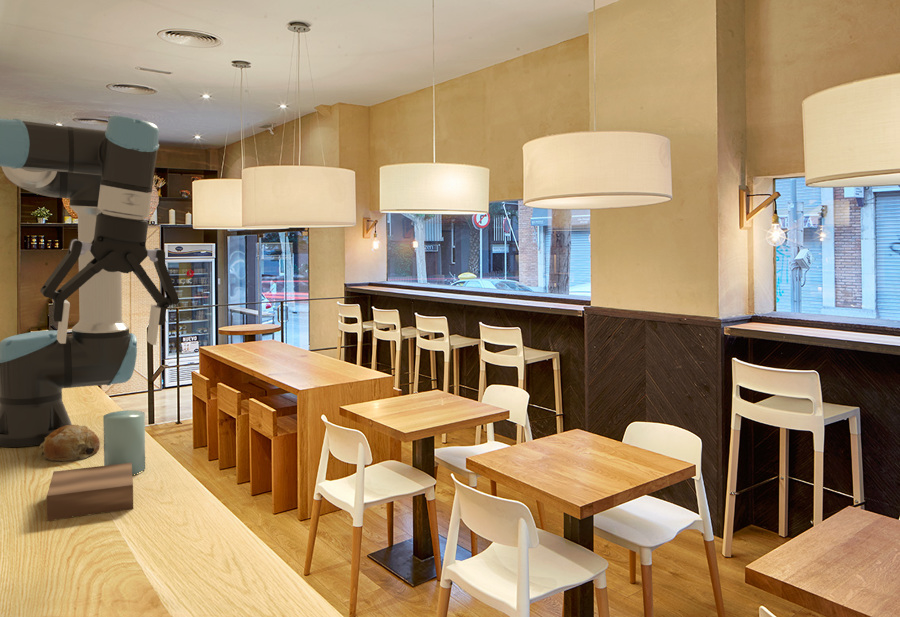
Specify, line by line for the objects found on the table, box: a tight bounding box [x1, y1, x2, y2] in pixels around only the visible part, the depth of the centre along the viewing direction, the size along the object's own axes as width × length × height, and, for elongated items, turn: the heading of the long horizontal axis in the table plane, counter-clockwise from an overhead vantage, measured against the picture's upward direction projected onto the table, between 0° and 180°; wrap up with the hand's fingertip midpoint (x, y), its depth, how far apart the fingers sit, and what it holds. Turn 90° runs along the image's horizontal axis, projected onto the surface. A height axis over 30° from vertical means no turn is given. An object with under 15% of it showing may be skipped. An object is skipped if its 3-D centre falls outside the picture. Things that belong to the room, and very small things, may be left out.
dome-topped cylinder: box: [102, 409, 146, 476], centre depth 121 cm, size 7×7×11 cm
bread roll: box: [38, 424, 101, 462], centre depth 129 cm, size 10×10×8 cm
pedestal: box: [46, 463, 134, 522], centre depth 106 cm, size 12×12×4 cm
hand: (108, 342), depth 105 cm, fingers open, 13 cm apart
